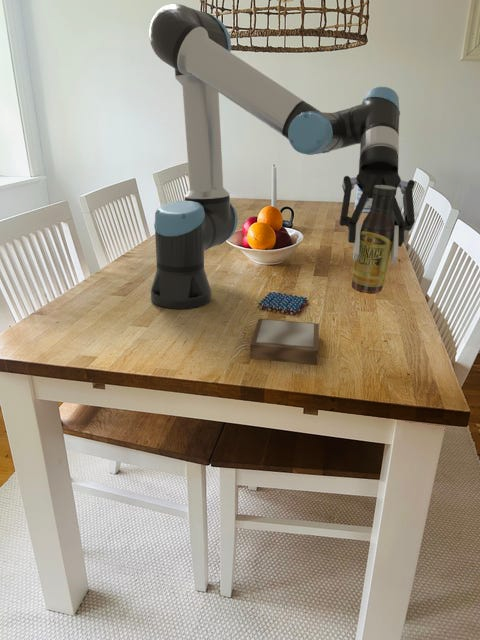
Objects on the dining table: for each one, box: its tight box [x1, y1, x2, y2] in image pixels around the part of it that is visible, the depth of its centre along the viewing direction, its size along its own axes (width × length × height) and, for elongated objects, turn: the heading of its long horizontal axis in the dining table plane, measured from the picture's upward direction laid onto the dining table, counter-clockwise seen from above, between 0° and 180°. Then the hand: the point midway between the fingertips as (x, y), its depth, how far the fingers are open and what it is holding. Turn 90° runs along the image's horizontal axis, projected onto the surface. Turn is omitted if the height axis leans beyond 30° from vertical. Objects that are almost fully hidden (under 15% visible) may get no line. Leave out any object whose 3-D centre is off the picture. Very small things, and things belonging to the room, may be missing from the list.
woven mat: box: [257, 291, 310, 316], centre depth 122 cm, size 10×11×2 cm
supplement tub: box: [354, 185, 373, 213], centre depth 238 cm, size 10×10×15 cm
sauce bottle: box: [351, 185, 398, 295], centre depth 92 cm, size 6×6×20 cm
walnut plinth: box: [249, 318, 320, 366], centre depth 100 cm, size 13×13×3 cm
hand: (375, 258), depth 90 cm, fingers closed on sauce bottle, 6 cm apart
